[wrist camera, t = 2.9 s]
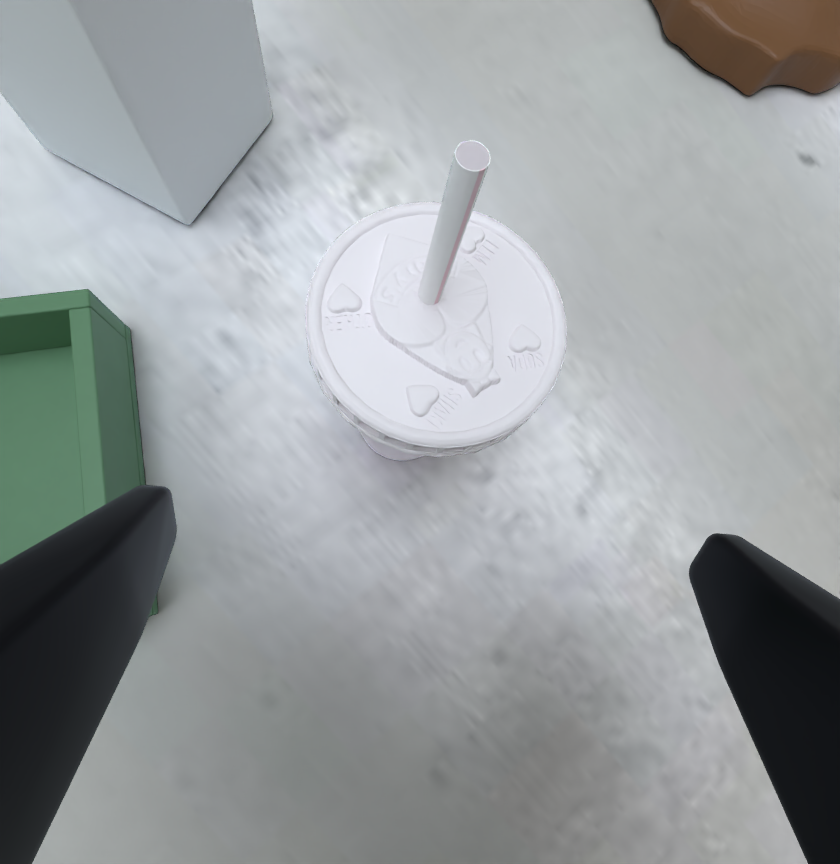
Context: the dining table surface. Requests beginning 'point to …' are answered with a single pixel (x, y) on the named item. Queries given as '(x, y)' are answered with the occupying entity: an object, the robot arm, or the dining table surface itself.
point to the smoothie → (435, 323)
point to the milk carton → (139, 90)
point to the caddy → (63, 415)
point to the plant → (759, 40)
